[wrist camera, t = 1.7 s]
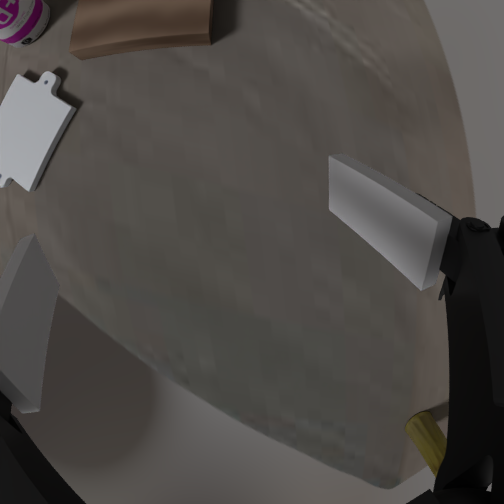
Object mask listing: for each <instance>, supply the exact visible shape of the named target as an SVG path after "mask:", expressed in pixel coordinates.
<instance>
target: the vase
mask: <svg viewBox="0 0 504 504" xmlns="http://www.w3.org/2000/svg"><path fill="white" fill-rule="evenodd" d="M405 431H406V433H407V434H408V435H409V436H410V438H411V439H412V441H413V442H414V443H415V445H416V446H417V448H418V450H419V451H420V453H421V454H422V456H423V458H424V459H425V461H426V463H427V464H428V466H429V467H430V469H431V471H432V472H433V474H434V475H435V477H436V475H437V472H438V469H439V467H440V465H441V463H442V461H443V459H444V456H445V452H446V445H447V439H446V437H445V436H444V434H443V432H442V431H441V429H440V428H439V426H438V425H437V423H436V422H435V420H434V419H433V417H432V415H431V413H430V412H426V411H425V412H420V413H418V414H416V415H415V416H413V417H412V418H411V419H410V420H409V421H408V422H407V424H406V427H405Z"/></svg>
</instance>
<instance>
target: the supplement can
mask: <svg viewBox="0 0 504 504" xmlns="http://www.w3.org/2000/svg"><path fill="white" fill-rule="evenodd" d="M49 18H50V8H49V6H48V5H47V4H46V3H45V2H44V1H42V0H0V40H1V41H3V42H6V43H8V44H10V45H12V46H14V47H24V46H26V45H29V44H30V43H31V42H33V41H34V40H35V39H37V38H38V37H39V36H40V35H41V33H42V32H43V31H44V29H45V27H46V26H47V24H48V21H49Z"/></svg>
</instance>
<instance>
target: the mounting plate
mask: <svg viewBox="0 0 504 504" xmlns="http://www.w3.org/2000/svg"><path fill="white" fill-rule="evenodd" d="M60 83H61V78H60V77H59V76H57V75H55V74H53V73H51V72H49V71H47V72H45V73H43V75H42V76H41V78H40V79H39V81H38V82H36V83H34V82H33V81H31V80H29V79H28V78H26V77H24V76H22V75H20V74H17V76H16V78H15V79H14V81H13V83H12V85H11V87H10V88H9V90H8V92H7V94H6V96H5V98H4V100H3V102H2V104H1V106H0V188H2V187H8V186H9V185H10V183H11V181H12V179H14V180H15V181H16V182H17V183H18V184H20V185H21V186H22V187H23V188H25V189H26V190H27V191H28V192H31V191H35V189H36V187H37V184H38V182H39V180H40V178H41V175H42V173H43V171H44V169H45V167H46V165H47V163H48V161H49V159H50V157H51V155H52V153H53V151H54V149H55V147H56V145H57V143H58V141H59V139H60V137H61V136H62V134H63V132H64V130H65V128H66V126H67V125H68V123H69V121H70V119H71V118H72V116H73V114H74V113H75V111H76V108H75V107H73V106H71V105H70V104H68V103H67V102H65V101H63V100H62V99H60V98H59V97H57V95H56V91H57V89H58V87H59V85H60Z"/></svg>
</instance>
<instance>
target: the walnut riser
mask: <svg viewBox="0 0 504 504" xmlns="http://www.w3.org/2000/svg"><path fill="white" fill-rule="evenodd" d="M213 5H214V0H79V2H78V7H77V11H76V16H75V20H74V25H73V30H72V36H71V41H70V47H69V52H70V53H71V54H73V55H74V56H76V57H77V58H79V59H80V60H85V59H90V58H95V57H101V56H106V55H112V54H118V53H125V52H132V51H140V50H148V49H158V48H169V47H182V46H202V45H211V35H212V19H213Z"/></svg>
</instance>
